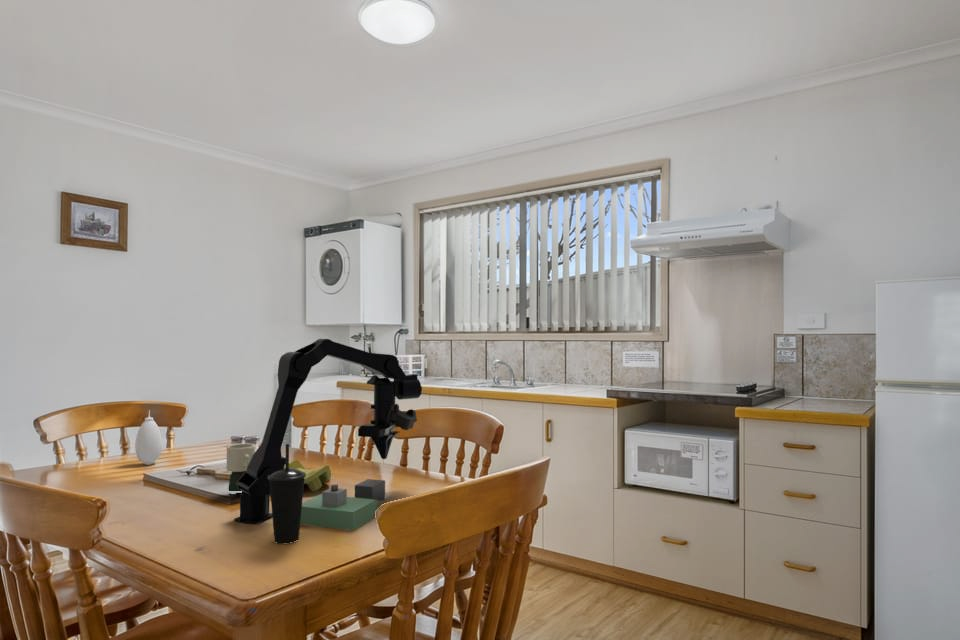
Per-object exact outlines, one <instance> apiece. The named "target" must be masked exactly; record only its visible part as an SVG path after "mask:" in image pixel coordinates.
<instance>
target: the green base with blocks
mask: <svg viewBox="0 0 960 640" xmlns="http://www.w3.org/2000/svg"><path fill="white" fill-rule="evenodd" d="M378 507H379V508H380V502H379V500H374V499H363V498H355V497H351V496H348V491H347V488H339V484H331V485H330V488H328V489H326V490H324V491H322V492H321V493H320V494H318V495H316V496H314V497H312V498H310V499H307V500H305V501H302V509H301V520H300V525H302V524H305V525H304V526H311V525H313V526H312V527H320V526H321V528H329V529H330V528H331V529H337V528H338V529H337V530H346V529H347V530H348V531H355V530H357V529H358V528H360V527H361V526H363V525H364V524H367V523H368V522H369V521H371V520H373V519H374V518H376V517H375V511H376V512H377V510H378V509H377V508H378ZM376 509H377V510H376ZM354 529H355V530H354Z"/></svg>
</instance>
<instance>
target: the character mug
mask: <svg viewBox="0 0 960 640" xmlns="http://www.w3.org/2000/svg"><path fill="white" fill-rule="evenodd" d="M255 452H256V445H255V444H254V443H235V444H230V445H228V446H227V447H226V471H229V472H231V474H230V476H229V482H228V489H227V491H228V490H229V491H241V490H239V489H238V486H237V484H236V482H237V481H238V480H239V479H240V478H241V476H242V475H243V474H244V473H245V472H246V471H247V467H248V465H249V463H250V460H251V458H252V456H253V454H254V453H255Z"/></svg>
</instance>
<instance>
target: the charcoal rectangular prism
mask: <svg viewBox="0 0 960 640" xmlns="http://www.w3.org/2000/svg"><path fill="white" fill-rule="evenodd" d="M354 498H363V499H374V500H379V503H381V502H383V501H384V500H386V480H384V479H372V478H368V479H364V480H363V481H361V482H359V483H357V484H355V485H354Z"/></svg>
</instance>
